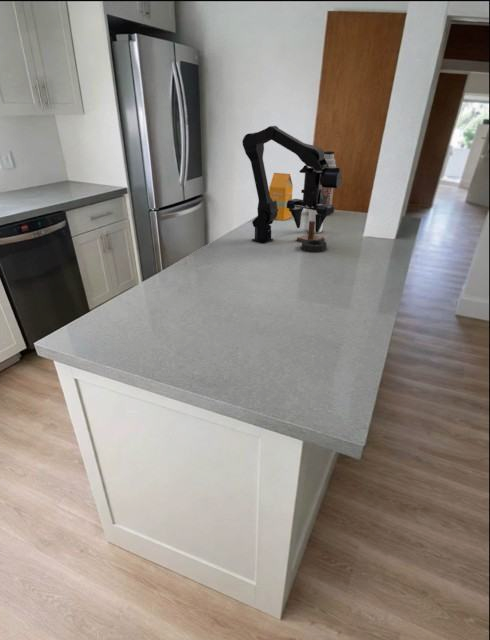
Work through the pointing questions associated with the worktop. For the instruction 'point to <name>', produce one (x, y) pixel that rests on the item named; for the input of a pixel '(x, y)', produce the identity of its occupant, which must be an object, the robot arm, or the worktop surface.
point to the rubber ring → (314, 245)
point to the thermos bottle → (331, 163)
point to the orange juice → (281, 194)
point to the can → (314, 219)
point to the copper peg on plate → (310, 234)
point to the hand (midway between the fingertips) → (307, 230)
